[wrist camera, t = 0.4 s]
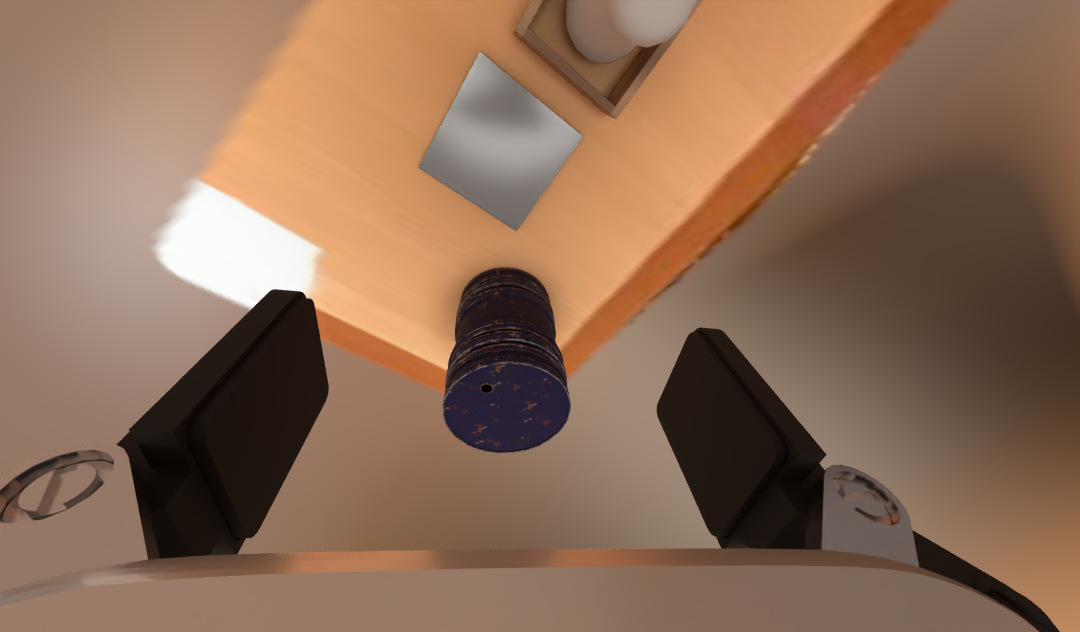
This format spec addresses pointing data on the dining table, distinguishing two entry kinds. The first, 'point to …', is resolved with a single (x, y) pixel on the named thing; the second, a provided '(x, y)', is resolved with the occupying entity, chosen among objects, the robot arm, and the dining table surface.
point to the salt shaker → (623, 25)
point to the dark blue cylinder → (505, 366)
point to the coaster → (499, 144)
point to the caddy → (608, 106)
